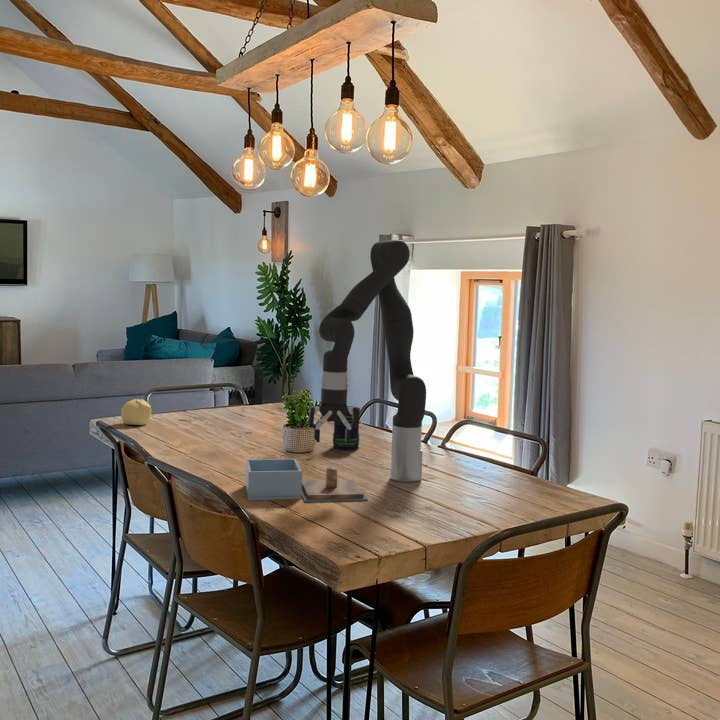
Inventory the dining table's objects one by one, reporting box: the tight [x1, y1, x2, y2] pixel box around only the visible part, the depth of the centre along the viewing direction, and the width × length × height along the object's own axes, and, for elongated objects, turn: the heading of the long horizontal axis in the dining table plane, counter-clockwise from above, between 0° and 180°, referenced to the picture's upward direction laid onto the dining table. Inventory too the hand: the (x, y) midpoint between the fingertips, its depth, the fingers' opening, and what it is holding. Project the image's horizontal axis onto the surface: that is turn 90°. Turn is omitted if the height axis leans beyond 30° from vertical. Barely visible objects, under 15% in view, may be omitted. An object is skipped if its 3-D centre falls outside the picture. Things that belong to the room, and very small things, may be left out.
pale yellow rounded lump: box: [120, 398, 153, 426], centre depth 317 cm, size 11×12×11 cm
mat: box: [301, 481, 369, 503], centre depth 226 cm, size 18×18×1 cm
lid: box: [302, 466, 365, 499], centre depth 226 cm, size 16×16×7 cm
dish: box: [244, 458, 303, 501], centre depth 224 cm, size 15×15×8 cm
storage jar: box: [332, 405, 361, 452], centre depth 286 cm, size 10×10×15 cm
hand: (332, 441), depth 225 cm, fingers open, 8 cm apart
